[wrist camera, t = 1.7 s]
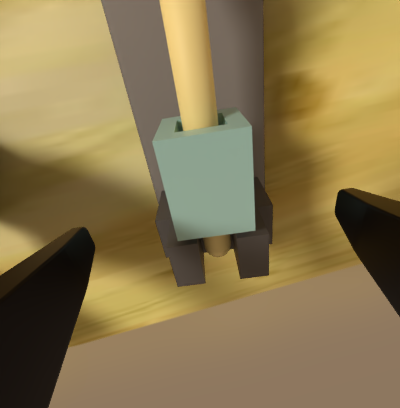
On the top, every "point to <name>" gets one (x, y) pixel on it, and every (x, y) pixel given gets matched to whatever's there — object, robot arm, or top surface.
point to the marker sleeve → (208, 175)
